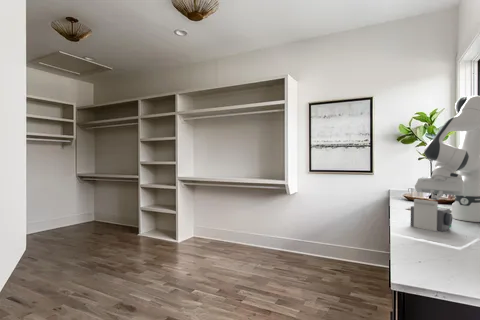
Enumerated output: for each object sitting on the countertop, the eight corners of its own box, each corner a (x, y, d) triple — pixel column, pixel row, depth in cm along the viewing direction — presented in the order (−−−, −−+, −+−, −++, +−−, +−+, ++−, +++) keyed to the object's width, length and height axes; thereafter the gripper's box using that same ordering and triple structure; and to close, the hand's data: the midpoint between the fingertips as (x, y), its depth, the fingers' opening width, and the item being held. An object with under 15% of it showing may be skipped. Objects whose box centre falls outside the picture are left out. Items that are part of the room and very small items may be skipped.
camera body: (418, 225, 152) (418, 204, 152) (453, 231, 139) (453, 209, 139) (410, 227, 146) (410, 206, 146) (446, 234, 134) (446, 211, 134)
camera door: (414, 226, 145) (414, 199, 145) (437, 230, 137) (437, 201, 136) (412, 227, 144) (413, 199, 143) (435, 231, 136) (436, 202, 135)
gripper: (417, 173, 153) (409, 192, 147) (464, 174, 137) (458, 196, 131) (420, 181, 156) (413, 200, 150) (467, 183, 140) (461, 205, 134)
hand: (434, 198), depth 140 cm, fingers closed
